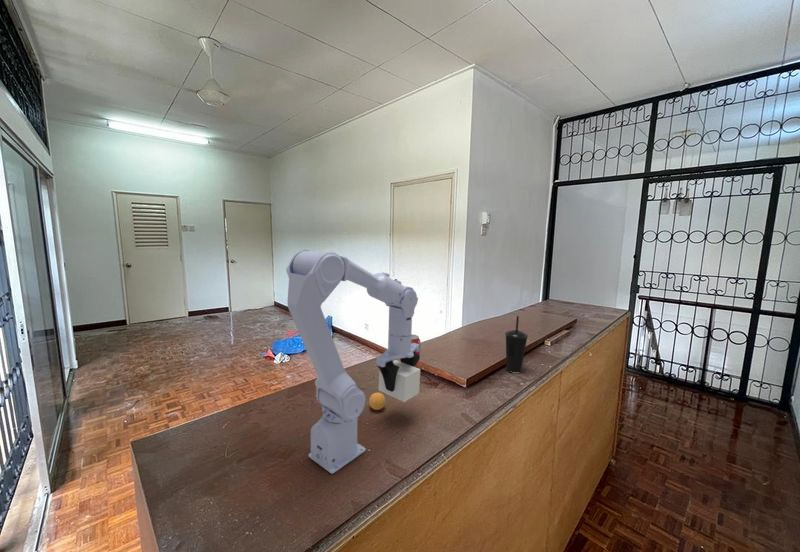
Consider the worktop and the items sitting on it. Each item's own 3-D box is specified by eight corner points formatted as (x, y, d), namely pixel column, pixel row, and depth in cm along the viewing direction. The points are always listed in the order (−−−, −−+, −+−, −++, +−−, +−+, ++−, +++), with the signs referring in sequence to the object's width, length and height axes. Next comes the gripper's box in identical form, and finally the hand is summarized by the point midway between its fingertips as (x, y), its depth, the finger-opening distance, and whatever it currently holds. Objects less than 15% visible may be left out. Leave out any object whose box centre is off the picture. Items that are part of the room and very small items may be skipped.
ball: (368, 392, 86) (363, 404, 87) (379, 404, 83) (374, 415, 85) (380, 386, 89) (375, 398, 91) (390, 398, 87) (385, 409, 88)
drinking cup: (528, 375, 111) (533, 319, 108) (506, 375, 111) (510, 318, 108) (520, 366, 118) (524, 314, 116) (499, 366, 119) (503, 313, 116)
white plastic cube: (404, 402, 77) (405, 376, 76) (378, 390, 82) (379, 366, 81) (418, 393, 81) (420, 369, 80) (393, 382, 86) (394, 359, 86)
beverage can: (418, 374, 110) (419, 340, 108) (400, 371, 111) (401, 338, 110) (420, 366, 116) (421, 334, 114) (403, 364, 117) (404, 333, 116)
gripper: (393, 344, 72) (391, 401, 73) (429, 330, 83) (427, 380, 85) (370, 337, 76) (369, 391, 78) (408, 325, 87) (406, 372, 89)
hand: (398, 385), depth 81 cm, fingers closed on white plastic cube, 6 cm apart
